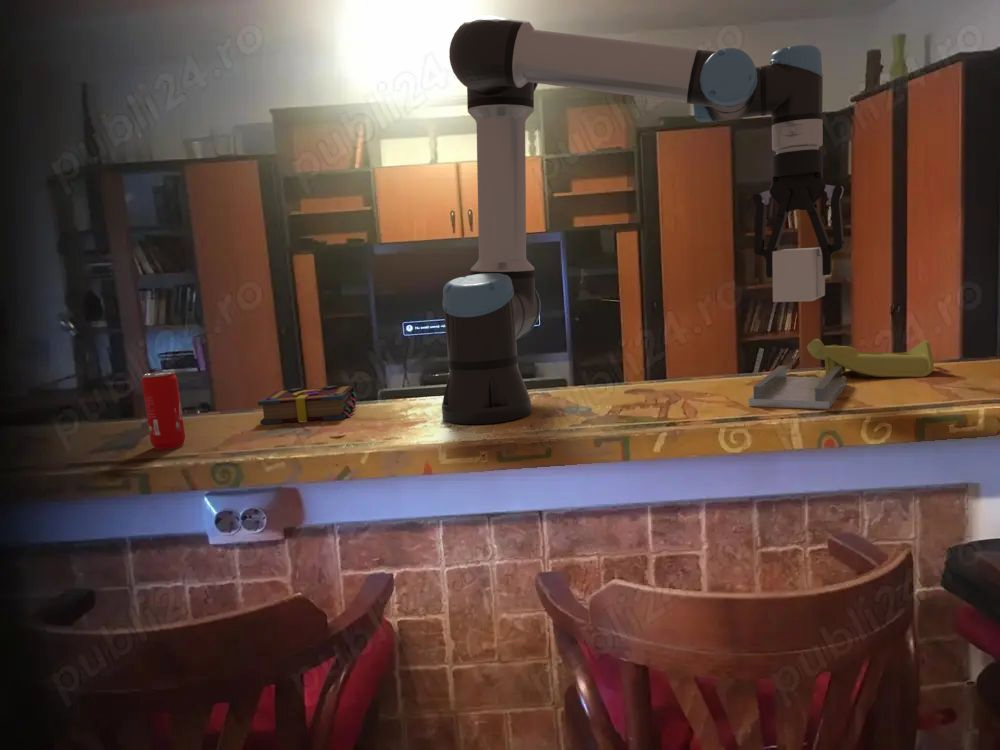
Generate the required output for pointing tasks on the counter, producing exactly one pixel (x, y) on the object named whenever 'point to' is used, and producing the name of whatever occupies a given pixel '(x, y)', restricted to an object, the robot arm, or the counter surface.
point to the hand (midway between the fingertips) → (798, 296)
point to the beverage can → (163, 410)
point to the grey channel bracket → (798, 390)
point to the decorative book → (308, 404)
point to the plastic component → (875, 360)
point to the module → (795, 274)
